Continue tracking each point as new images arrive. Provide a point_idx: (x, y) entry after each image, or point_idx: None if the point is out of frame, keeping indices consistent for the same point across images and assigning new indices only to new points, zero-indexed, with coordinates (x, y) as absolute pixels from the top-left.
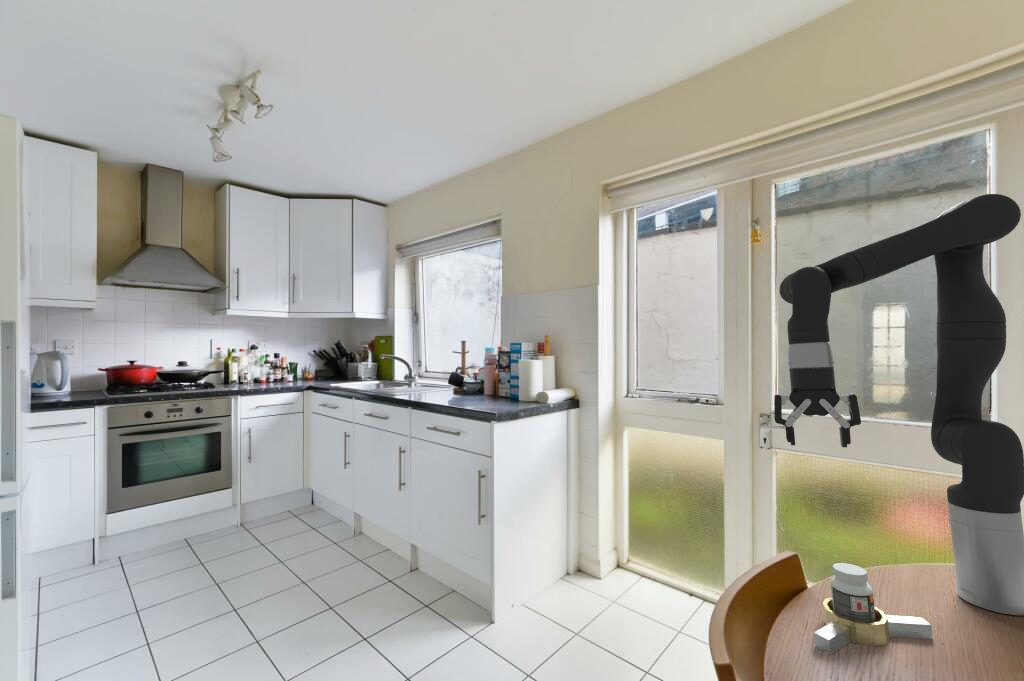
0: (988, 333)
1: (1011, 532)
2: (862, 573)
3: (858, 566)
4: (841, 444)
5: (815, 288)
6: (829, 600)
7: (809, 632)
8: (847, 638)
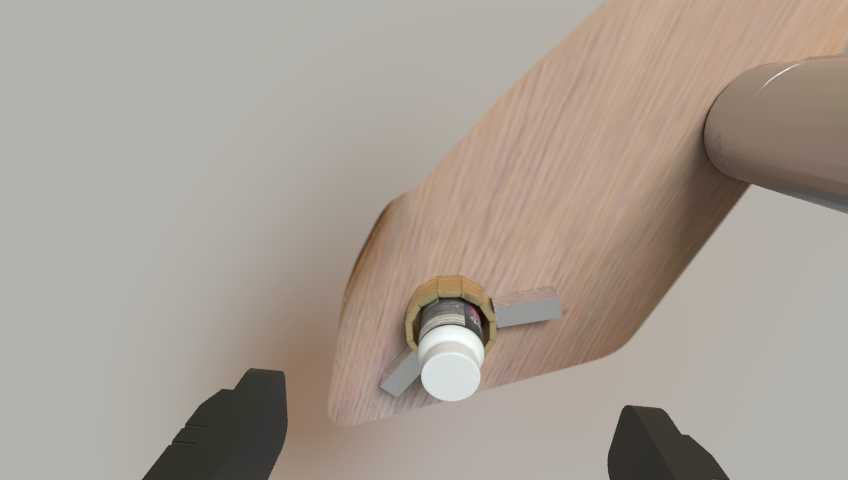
0: None
1: None
2: (468, 392)
3: (472, 362)
4: (625, 431)
5: None
6: (419, 309)
7: (381, 339)
8: None
